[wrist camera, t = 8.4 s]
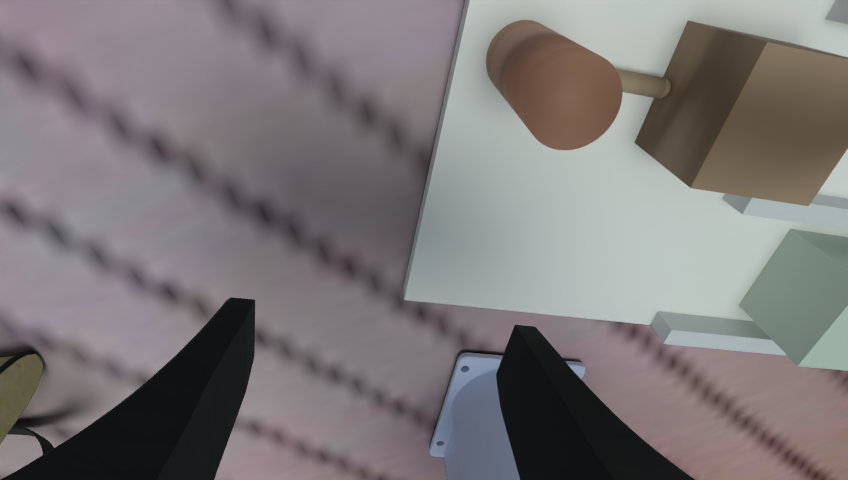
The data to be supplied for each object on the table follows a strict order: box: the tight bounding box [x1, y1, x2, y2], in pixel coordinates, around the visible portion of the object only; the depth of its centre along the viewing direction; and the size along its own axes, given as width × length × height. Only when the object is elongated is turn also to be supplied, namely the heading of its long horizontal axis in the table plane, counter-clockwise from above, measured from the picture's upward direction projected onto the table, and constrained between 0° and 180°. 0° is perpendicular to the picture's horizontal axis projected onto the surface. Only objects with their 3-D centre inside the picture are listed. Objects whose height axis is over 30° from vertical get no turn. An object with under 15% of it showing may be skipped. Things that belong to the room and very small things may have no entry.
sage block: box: [739, 229, 848, 371], centre depth 24 cm, size 5×5×4 cm
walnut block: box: [486, 20, 848, 206], centre depth 17 cm, size 5×12×6 cm, turn 79°
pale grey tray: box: [404, 0, 848, 355], centre depth 22 cm, size 17×26×2 cm, turn 79°
